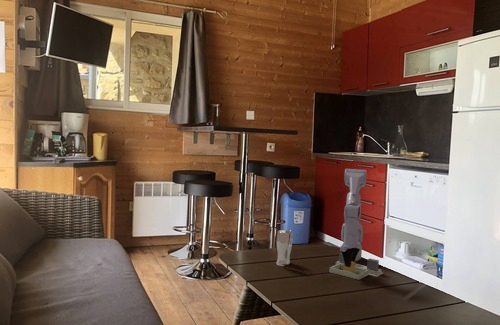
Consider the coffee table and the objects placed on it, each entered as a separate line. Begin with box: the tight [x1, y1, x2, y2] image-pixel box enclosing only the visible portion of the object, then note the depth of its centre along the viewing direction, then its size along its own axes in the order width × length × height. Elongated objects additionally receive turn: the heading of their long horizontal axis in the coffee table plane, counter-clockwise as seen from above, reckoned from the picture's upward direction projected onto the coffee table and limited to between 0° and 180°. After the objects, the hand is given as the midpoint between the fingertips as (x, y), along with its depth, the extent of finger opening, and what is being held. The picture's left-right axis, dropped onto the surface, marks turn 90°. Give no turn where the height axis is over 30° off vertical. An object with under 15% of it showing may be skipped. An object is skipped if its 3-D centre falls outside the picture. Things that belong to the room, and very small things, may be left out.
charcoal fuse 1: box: [338, 252, 344, 263], centre depth 185 cm, size 2×4×6 cm, turn 50°
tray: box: [328, 263, 369, 280], centre depth 174 cm, size 9×13×3 cm
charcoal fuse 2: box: [366, 258, 380, 271], centre depth 176 cm, size 2×4×6 cm, turn 51°
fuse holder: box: [335, 260, 384, 277], centre depth 181 cm, size 7×20×2 cm, turn 51°
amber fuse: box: [342, 261, 356, 273], centre depth 173 cm, size 2×4×6 cm, turn 50°
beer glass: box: [275, 229, 293, 267], centre depth 185 cm, size 7×7×15 cm
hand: (349, 265), depth 173 cm, fingers closed on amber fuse, 2 cm apart
